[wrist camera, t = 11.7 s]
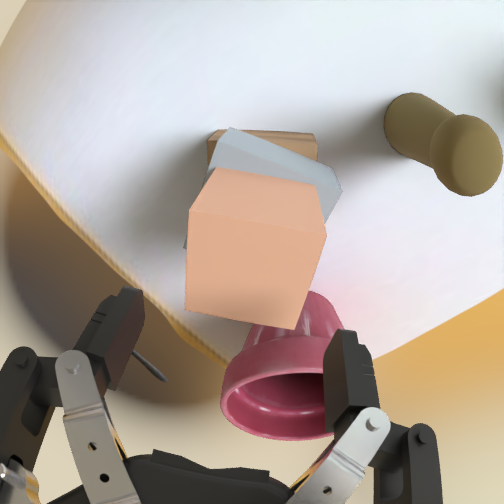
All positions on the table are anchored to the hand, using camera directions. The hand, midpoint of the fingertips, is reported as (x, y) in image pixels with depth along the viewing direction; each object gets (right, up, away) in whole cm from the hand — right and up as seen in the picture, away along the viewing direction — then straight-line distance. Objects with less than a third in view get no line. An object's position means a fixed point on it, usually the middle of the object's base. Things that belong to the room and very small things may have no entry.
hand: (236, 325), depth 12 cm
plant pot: (+6, -5, +24) cm, 25 cm away
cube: (+1, +5, +8) cm, 9 cm away
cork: (+15, +14, +11) cm, 23 cm away
